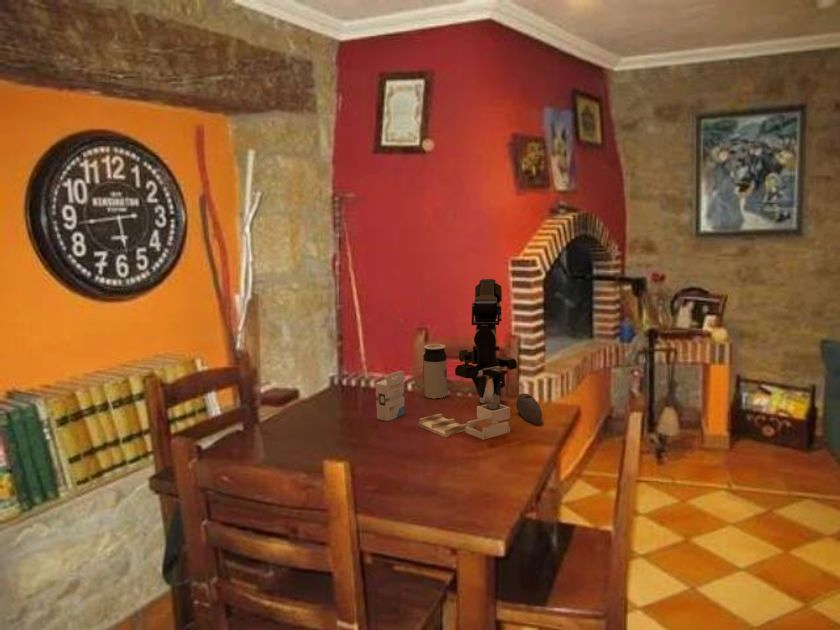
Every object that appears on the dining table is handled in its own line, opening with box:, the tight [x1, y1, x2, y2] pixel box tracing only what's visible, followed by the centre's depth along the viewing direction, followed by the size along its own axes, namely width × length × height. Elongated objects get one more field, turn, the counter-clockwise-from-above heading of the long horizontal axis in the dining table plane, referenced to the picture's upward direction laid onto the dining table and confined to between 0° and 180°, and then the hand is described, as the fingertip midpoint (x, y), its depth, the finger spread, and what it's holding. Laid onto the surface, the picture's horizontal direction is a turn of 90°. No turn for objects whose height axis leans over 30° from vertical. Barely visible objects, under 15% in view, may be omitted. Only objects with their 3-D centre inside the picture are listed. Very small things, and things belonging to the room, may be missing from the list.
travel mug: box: [423, 343, 448, 400], centre depth 228 cm, size 8×8×18 cm
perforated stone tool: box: [515, 393, 543, 426], centre depth 199 cm, size 15×5×7 cm, turn 9°
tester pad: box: [476, 421, 495, 432], centre depth 188 cm, size 5×5×2 cm
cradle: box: [464, 416, 511, 440], centre depth 188 cm, size 10×8×4 cm
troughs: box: [417, 413, 467, 438], centre depth 194 cm, size 9×14×2 cm, turn 34°
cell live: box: [479, 375, 494, 403], centre depth 186 cm, size 4×4×8 cm
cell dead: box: [487, 394, 500, 411], centre depth 200 cm, size 4×4×8 cm
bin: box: [476, 404, 511, 423], centre depth 201 cm, size 7×7×4 cm
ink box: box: [375, 370, 406, 422], centre depth 206 cm, size 9×5×15 cm, turn 143°
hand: (487, 396), depth 187 cm, fingers closed on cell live, 4 cm apart
